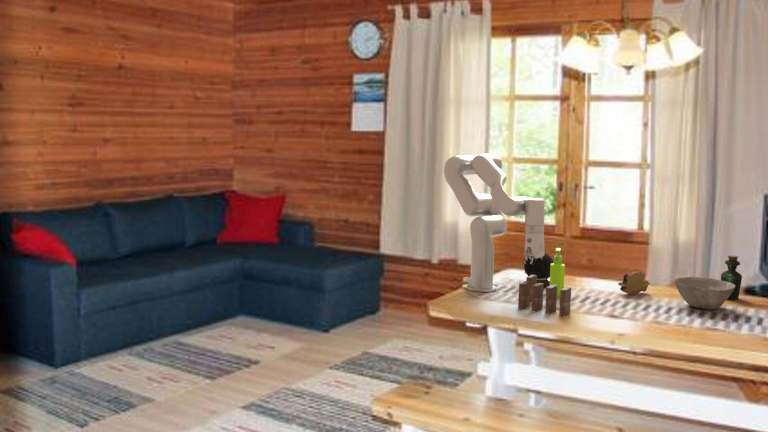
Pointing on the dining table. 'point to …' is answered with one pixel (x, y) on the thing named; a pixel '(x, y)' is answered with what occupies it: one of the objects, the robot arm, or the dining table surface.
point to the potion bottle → (732, 276)
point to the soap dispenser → (557, 272)
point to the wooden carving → (634, 283)
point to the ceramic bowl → (704, 291)
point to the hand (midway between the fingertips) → (533, 271)
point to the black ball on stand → (543, 270)
